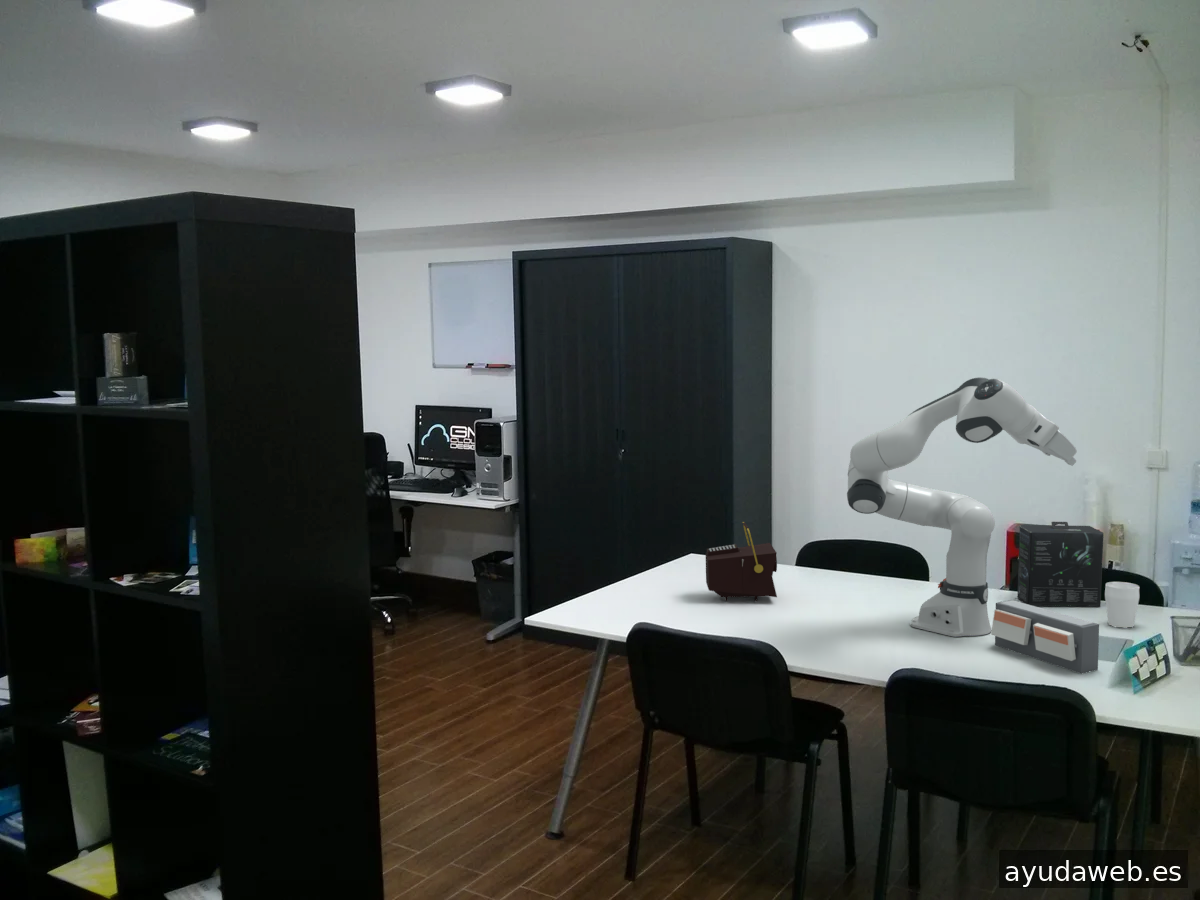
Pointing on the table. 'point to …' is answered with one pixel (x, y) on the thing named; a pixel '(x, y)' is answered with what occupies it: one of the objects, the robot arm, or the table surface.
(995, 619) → the block
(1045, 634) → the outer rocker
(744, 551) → the dark brown boxy piece
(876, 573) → the table surface
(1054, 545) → the headset box
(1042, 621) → the switch block
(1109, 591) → the cup
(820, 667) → the table surface
